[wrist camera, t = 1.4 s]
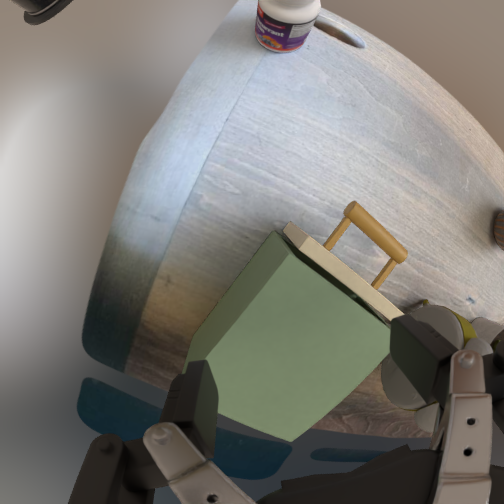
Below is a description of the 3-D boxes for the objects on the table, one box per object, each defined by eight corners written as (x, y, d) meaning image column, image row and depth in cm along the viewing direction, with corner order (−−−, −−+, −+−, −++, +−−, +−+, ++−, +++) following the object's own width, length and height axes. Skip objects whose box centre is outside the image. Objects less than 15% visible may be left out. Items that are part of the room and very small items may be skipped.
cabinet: (273, 230, 27) (289, 253, 18) (360, 296, 29) (401, 339, 20) (192, 335, 30) (176, 391, 20) (280, 384, 32) (291, 442, 22)
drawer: (318, 183, 25) (348, 182, 18) (394, 251, 27) (437, 273, 20) (209, 325, 28) (200, 369, 21) (292, 372, 30) (304, 419, 23)
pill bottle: (244, 29, 22) (245, -26, 12) (284, 11, 21) (299, -42, 12) (275, 62, 23) (290, 11, 14) (315, 42, 22) (342, -6, 13)
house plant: (423, 359, 32) (484, 429, 16) (472, 277, 30) (553, 322, 14) (464, 374, 34) (513, 426, 18) (504, 307, 31) (564, 347, 16)
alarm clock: (388, 369, 32) (440, 444, 18) (353, 359, 31) (403, 446, 17) (435, 297, 30) (511, 352, 15) (402, 278, 29) (488, 338, 14)
